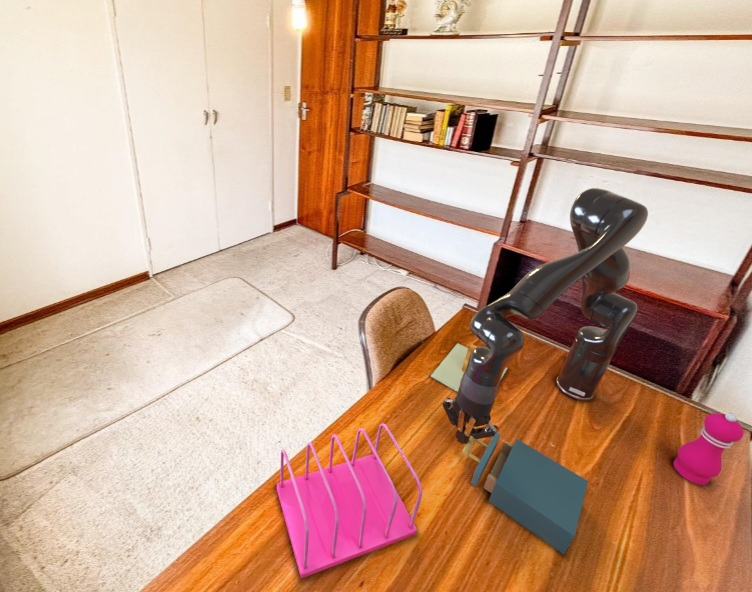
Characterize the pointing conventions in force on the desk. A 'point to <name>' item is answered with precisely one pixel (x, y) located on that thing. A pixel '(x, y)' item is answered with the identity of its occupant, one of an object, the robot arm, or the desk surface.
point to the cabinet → (540, 495)
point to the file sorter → (343, 508)
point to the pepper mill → (708, 448)
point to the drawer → (485, 459)
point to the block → (468, 356)
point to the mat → (453, 368)
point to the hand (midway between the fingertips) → (461, 440)
